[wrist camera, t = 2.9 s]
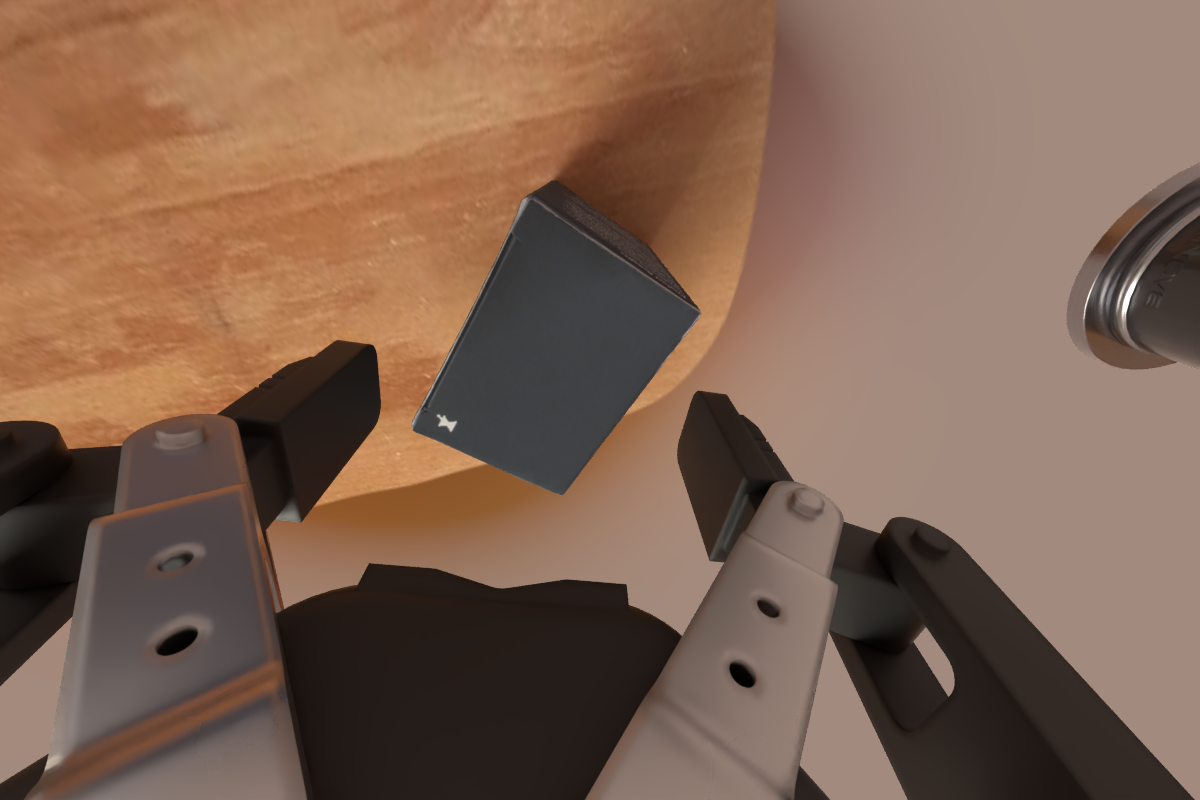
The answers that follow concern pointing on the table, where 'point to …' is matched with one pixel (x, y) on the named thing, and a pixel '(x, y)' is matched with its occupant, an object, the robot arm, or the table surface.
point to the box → (556, 342)
